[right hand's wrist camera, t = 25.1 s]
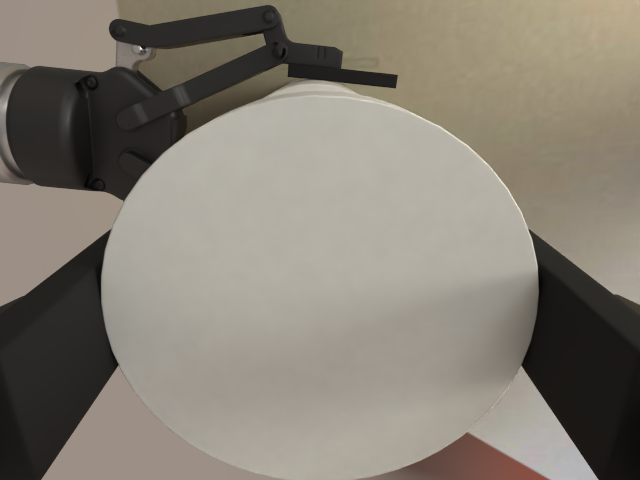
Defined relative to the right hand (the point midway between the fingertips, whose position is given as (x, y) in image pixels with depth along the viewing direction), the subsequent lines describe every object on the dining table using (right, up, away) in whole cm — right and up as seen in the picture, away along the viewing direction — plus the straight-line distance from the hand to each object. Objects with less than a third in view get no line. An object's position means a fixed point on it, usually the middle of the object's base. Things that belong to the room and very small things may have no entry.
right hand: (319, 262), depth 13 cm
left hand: (+4, +6, +16) cm, 18 cm away
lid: (0, -1, -3) cm, 3 cm away
